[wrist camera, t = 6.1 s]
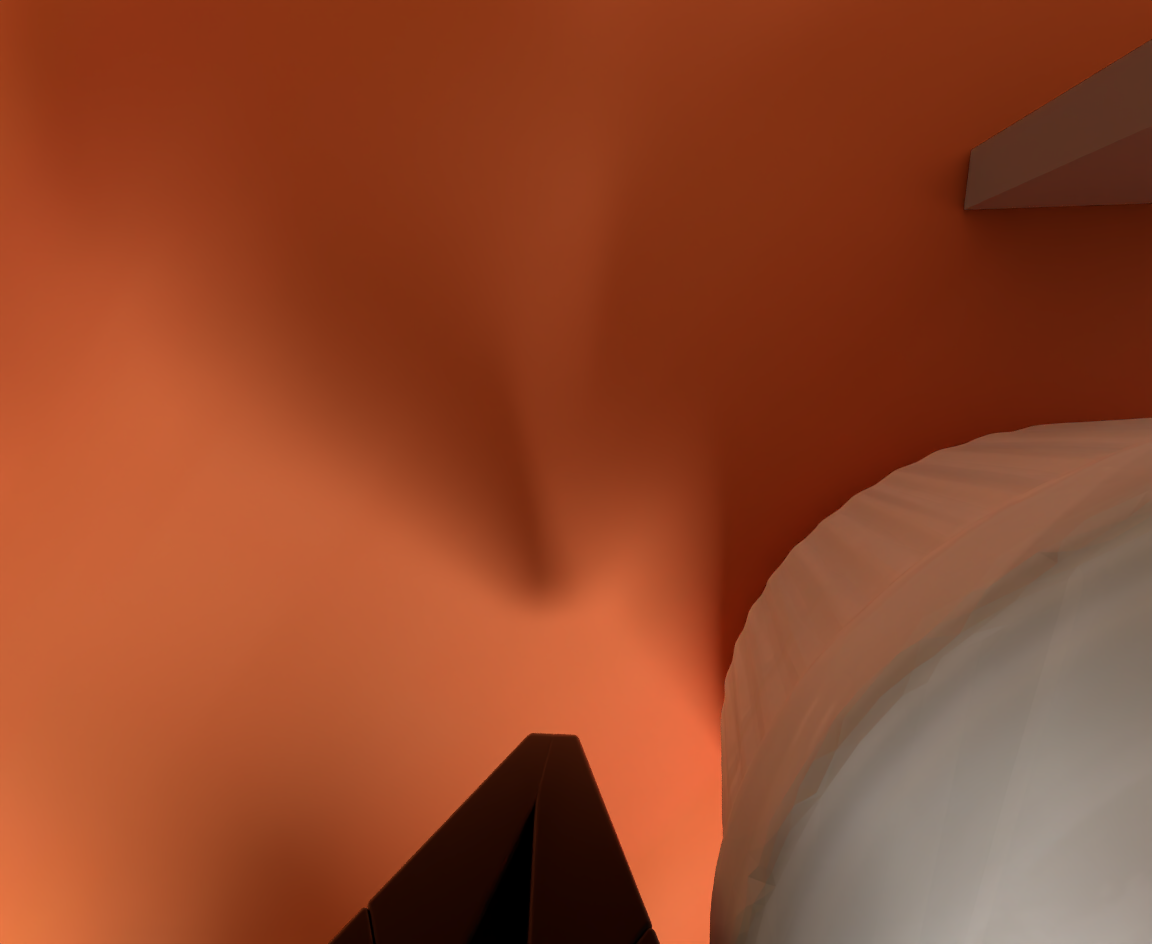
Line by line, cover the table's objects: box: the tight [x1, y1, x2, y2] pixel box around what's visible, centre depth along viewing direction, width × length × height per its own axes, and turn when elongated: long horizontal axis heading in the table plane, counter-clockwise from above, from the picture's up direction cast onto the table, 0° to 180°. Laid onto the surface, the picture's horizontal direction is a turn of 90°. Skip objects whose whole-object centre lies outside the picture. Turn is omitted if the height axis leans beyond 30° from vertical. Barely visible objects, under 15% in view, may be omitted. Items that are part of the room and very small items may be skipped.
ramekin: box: [710, 418, 1152, 944], centre depth 7 cm, size 11×11×5 cm
